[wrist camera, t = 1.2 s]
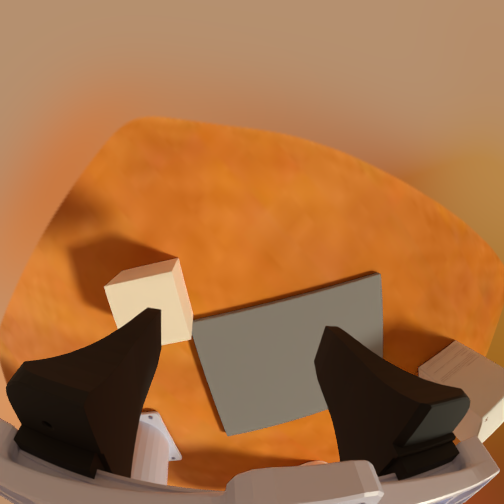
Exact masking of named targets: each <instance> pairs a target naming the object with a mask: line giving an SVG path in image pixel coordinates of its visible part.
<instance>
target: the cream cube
mask: <svg viewBox="0 0 504 504" xmlns="http://www.w3.org/2000/svg"><path fill="white" fill-rule="evenodd" d="M104 289H105V292H106V295H107V298H108V302H109V305H110V308H111V311H112V314H113V316H114V319H115V322H116V325H117V328H118V329H119V328H121V327H122V326H123V325H125V324H126V323H128V322H129V321H130V320H132V319H133V318H134V317H136V316H137V315H138V314H139V313H141V312H142V311H143V310H145V309H146V308H148V307H149V308H155V309H161V345H165V344H171V343H176V342H181V341H186V340H191V336H192V323H193V312H192V308H191V304H190V301H189V297H188V293H187V289H186V286H185V282H184V278H183V274H182V270H181V266H180V262H179V258H175V259H170V260H166V261H162V262H157V263H153V264H149V265H144V266H140V267H136V268H131V269H127V270H123V271H121V272H120V273H119V274H118V275H117V276H115V277H114V278H113V279H112V280H111V281H110V282H109V283H107V284H106V285H105V286H104Z"/></svg>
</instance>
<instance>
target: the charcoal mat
mask: <svg viewBox="0 0 504 504" xmlns="http://www.w3.org/2000/svg"><path fill="white" fill-rule="evenodd" d="M325 326H338V327H339V328H341V329H343V330H344V331H345V332H347V333H348V334H350V335H351V336H352V337H354V338H355V339H356V340H357V341H359V342H360V343H361V344H363V345H364V346H365V347H367V348H368V349H370V350H371V351H372V352H374V353H375V354H377V355H378V356H380V357H381V358H383V308H382V286H381V274H380V273H374V274H371V275H368V276H364V277H361V278H358V279H354V280H351V281H347V282H344V283H340V284H337V285H333V286H330V287H326V288H322V289H319V290H315V291H311V292H308V293H304V294H300V295H296V296H293V297H289V298H285V299H281V300H277V301H273V302H269V303H265V304H261V305H257V306H253V307H248V308H244V309H240V310H236V311H231V312H227V313H223V314H218V315H214V316H209V317H205V318H200V319H195V320H193V323H192V336H193V339H194V342H195V346H196V349H197V352H198V355H199V358H200V361H201V364H202V367H203V370H204V373H205V376H206V379H207V382H208V385H209V388H210V391H211V394H212V396H213V399H214V402H215V405H216V407H217V410H218V413H219V416H220V418H221V421H222V423H223V426H224V429H225V431H226V434H227V436H231V435H236V434H241V433H246V432H250V431H254V430H259V429H263V428H267V427H271V426H275V425H278V424H282V423H285V422H289V421H292V420H296V419H299V418H302V417H306V416H309V415H312V414H315V413H318V412H321V411H324V410H327V409H328V407H327V404H326V401H325V399H324V396H323V393H322V391H321V388H320V385H319V382H318V379H317V375H316V370H315V365H314V359H315V356H316V353H317V350H318V347H319V344H320V341H321V338H322V335H323V332H324V329H325Z"/></svg>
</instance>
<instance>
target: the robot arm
mask: <svg viewBox="0 0 504 504" xmlns="http://www.w3.org/2000/svg"><path fill="white" fill-rule="evenodd" d="M160 352H161V309H155V308H149V307H148V308H146V309H145V310H143V311H142V312H141V313H139V314H138V315H137V316H136V317H134V318H133V319H132V320H130V321H129V322H128V323H126V324H125V325H123V326H122V327H121V328H119V329H118V330H116V331H114V332H113V333H111V334H110V335H108V336H107V337H105V338H103V339H101V340H99V341H97V342H95V343H93V344H91V345H89V346H87V347H84V348H81V349H79V350H76V351H73V352H71V353H68V354H64V355H60V356H56V357H52V358H47V359H41V360H34V361H25V362H24V363H23V364H22V365H21V366H20V368H19V369H18V370H17V372H16V373H15V374H14V375H13V377H12V378H11V379H10V381H9V382H8V384H7V386H6V392H7V396H8V399H9V401H10V403H11V405H12V407H13V409H14V411H15V413H16V415H17V417H18V418H19V420H20V422H21V424H22V425H21V427H20V428H19V430H17V429H16V428H15V427H14V426H13V425H11V424H10V423H8V422H6V421H4V420H2V419H0V495H1V496H2V497H4V498H5V499H7V500H9V501H10V502H12V503H14V504H462V503H464V502H465V501H467V500H468V499H469V498H470V497H472V496H473V495H474V494H475V493H476V492H478V491H479V490H480V489H481V488H482V487H484V486H485V485H486V484H487V483H488V482H489V481H490V480H491V479H492V478H493V477H494V476H496V475H497V474H498V473H499V471H500V469H499V468H498V466H497V465H496V463H495V462H494V460H493V459H492V457H491V456H490V454H489V453H488V451H487V450H486V448H485V447H484V445H483V444H482V442H481V441H480V440H479V438H478V437H477V436H473V437H470V438H468V439H466V440H464V441H461V442H460V443H458V444H457V445H456V446H455V444H454V443H453V440H454V439H455V437H456V436H455V435H454V433H453V431H454V429H455V428H456V427H457V426H458V424H459V423H460V422H461V420H462V419H463V418H464V416H465V415H466V413H467V412H468V409H469V407H470V399H469V397H468V396H467V395H466V393H465V392H464V391H463V390H462V389H461V388H456V387H451V386H447V385H442V384H438V383H435V382H432V381H428V380H426V379H423V378H420V377H418V376H415V375H413V374H410V373H408V372H406V371H404V370H402V369H400V368H398V367H396V366H395V365H393V364H391V363H389V362H388V361H386V360H384V359H383V358H381V357H380V356H378V355H377V354H375V353H374V352H372V351H371V350H370V349H368V348H367V347H365V346H364V345H363V344H361V343H360V342H359V341H357V340H356V339H355V338H354V337H352V336H351V335H350V334H348V333H347V332H345V331H344V330H343V329H341V328H339V327H338V326H325V329H324V332H323V335H322V338H321V341H320V344H319V347H318V350H317V353H316V356H315V359H314V365H315V370H316V375H317V379H318V382H319V385H320V388H321V391H322V393H323V396H324V399H325V401H326V404H327V407H328V410H329V412H330V415H331V418H332V421H333V425H334V430H335V434H336V439H337V444H338V450H339V456H340V462H335V463H327V464H318V465H306V466H291V467H269V468H261V469H252V470H249V471H246V472H243V473H240V474H237V475H236V476H234V477H233V478H232V479H231V480H230V481H229V482H228V483H227V486H226V490H225V491H212V490H200V489H191V488H182V487H175V486H168V485H167V476H168V461H176V460H181V459H182V455H181V453H180V452H179V450H178V448H177V446H176V445H175V443H174V441H173V439H172V437H171V435H170V434H169V432H168V430H167V428H166V426H165V424H164V422H163V420H162V418H161V416H160V414H159V413H158V412H156V411H152V412H143V413H141V411H142V408H143V404H144V402H145V399H146V396H147V393H148V390H149V388H150V385H151V382H152V379H153V377H154V374H155V371H156V368H157V365H158V361H159V356H160ZM150 416H152V417H150Z"/></svg>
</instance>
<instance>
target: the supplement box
mask: <svg viewBox="0 0 504 504" xmlns="http://www.w3.org/2000/svg"><path fill="white" fill-rule="evenodd" d="M418 372H419V373H418V374H419V377H420V378H423V379H426V380H428V381H432V382H435V383H438V384H442V385H447V386H451V387H456V388H461V389H462V390H463V391H464V392H465V393H466V395H467V396H468V397H469V399H470V407H469V409H468V412H467V413H466V415H465V416H464V418H463V419H462V420H461V422H460V423H459V424H458V426H457V427H456V428H455V429H454V431H453V433H454V435H455V436H456V437H457V438H458V439H459V440H460V441H464V440H466V439H468V438H470V437H473V436H477V437H478V438H479V440H480V441H481V442H482V443H483V442H484V441H485V440H486V439H487V438H488V437H489V436H490V435H491V434H492V433H493V432H494V431H495V430H496V429H497V428H498V427H499V426H500V425H501V424H502V423H503V422H504V368H503V367H501V366H499V365H497V364H496V363H494V362H492V361H490V360H489V359H487V358H486V357H484V356H482V355H480V354H479V353H477V352H475V351H473V350H472V349H470V348H468V347H466V346H465V345H463V344H461V343H459V342H458V341H456V340H455V341H454V342H453V343H451V344H450V345H449V346H447V347H446V348H445V349H443V350H442V351H441V352H439V353H438V354H437V355H435V356H434V357H433V358H431V359H430V360H428V361H427V362H425V363H424V364H423V365H421V366H420V367H419V368H418Z"/></svg>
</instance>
